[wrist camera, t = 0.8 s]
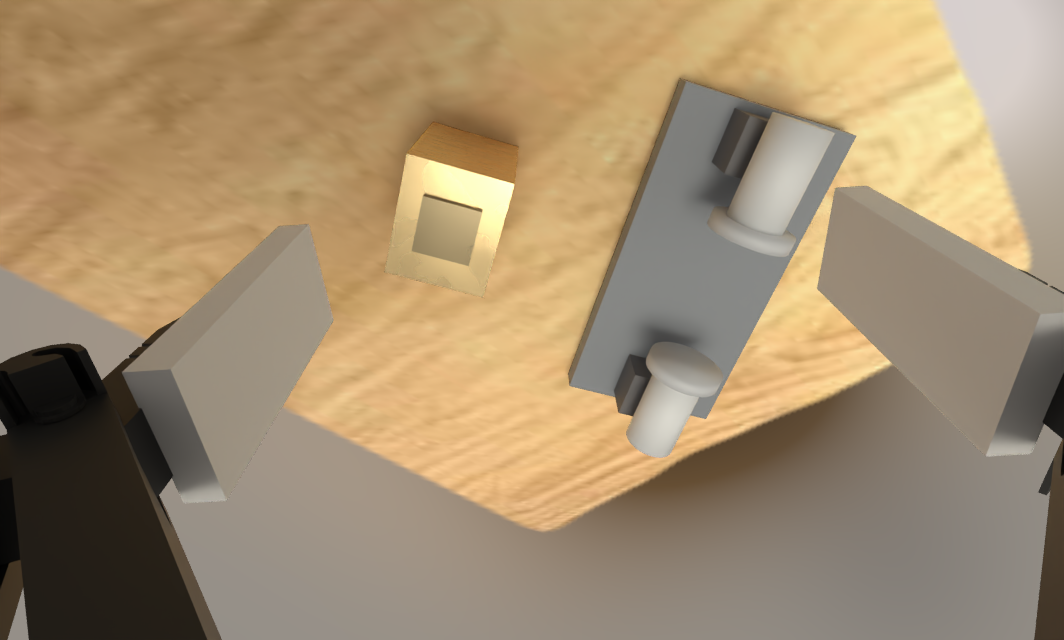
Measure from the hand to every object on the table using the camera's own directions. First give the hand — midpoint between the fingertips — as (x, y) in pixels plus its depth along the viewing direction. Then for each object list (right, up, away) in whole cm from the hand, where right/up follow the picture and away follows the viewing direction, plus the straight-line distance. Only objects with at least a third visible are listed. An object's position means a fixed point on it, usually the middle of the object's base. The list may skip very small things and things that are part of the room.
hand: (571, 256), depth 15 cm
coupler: (-5, +6, +20) cm, 22 cm away
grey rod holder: (+9, +2, +22) cm, 24 cm away
